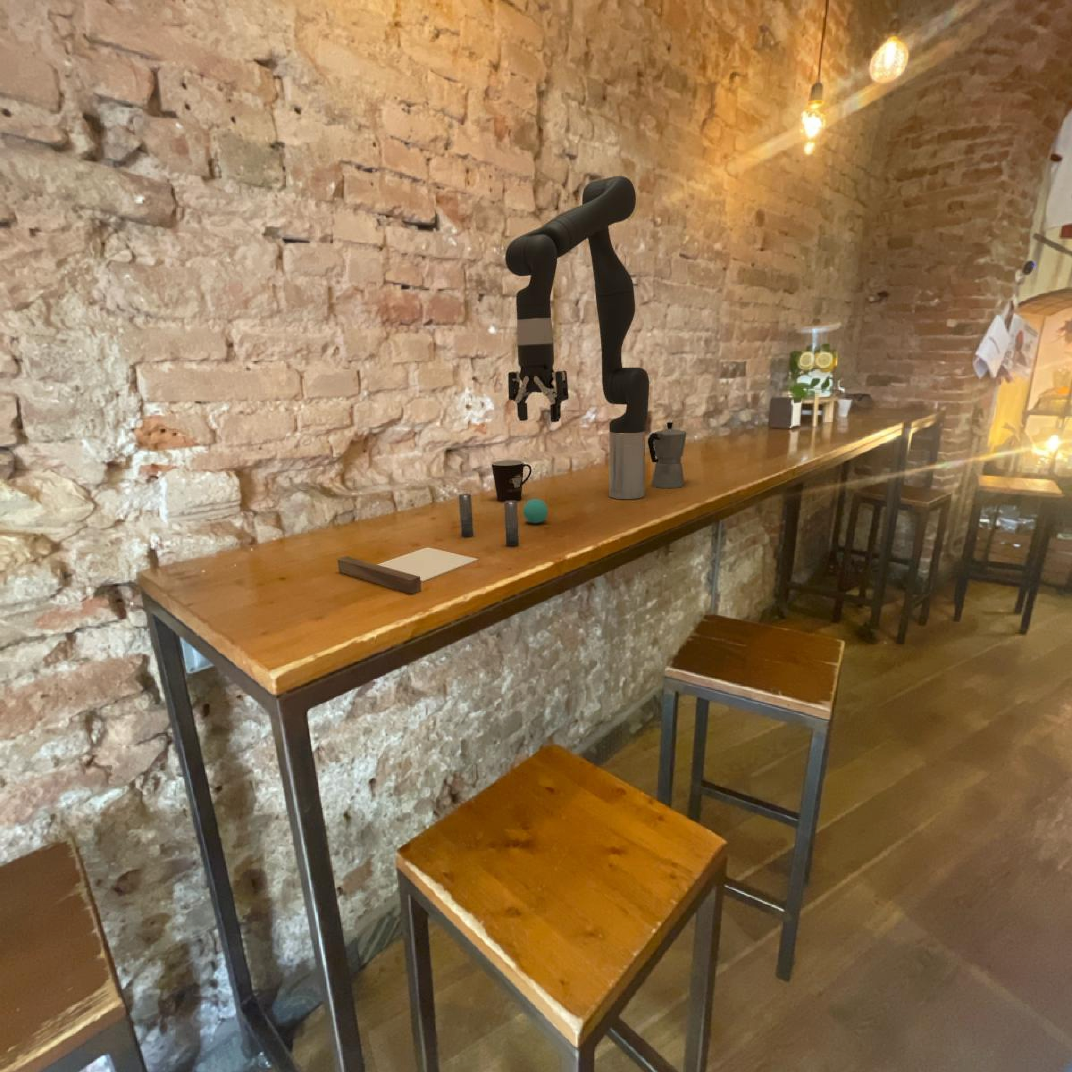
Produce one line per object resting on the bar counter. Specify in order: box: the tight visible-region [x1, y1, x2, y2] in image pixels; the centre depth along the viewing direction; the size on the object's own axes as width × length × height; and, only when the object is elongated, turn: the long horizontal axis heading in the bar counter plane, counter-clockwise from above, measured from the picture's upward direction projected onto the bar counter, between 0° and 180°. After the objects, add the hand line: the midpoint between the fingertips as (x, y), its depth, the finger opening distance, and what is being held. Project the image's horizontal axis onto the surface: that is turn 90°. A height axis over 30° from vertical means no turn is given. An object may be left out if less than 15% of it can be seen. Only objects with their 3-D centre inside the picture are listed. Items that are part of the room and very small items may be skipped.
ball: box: [523, 498, 549, 524], centre depth 140 cm, size 6×6×6 cm
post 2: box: [503, 500, 520, 548], centre depth 124 cm, size 3×3×9 cm
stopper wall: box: [337, 555, 422, 595], centre depth 107 cm, size 2×20×2 cm, turn 52°
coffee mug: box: [491, 459, 533, 503], centre depth 164 cm, size 12×9×10 cm
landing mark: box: [376, 547, 479, 583], centre depth 116 cm, size 14×14×1 cm
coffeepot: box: [647, 421, 688, 490], centre depth 173 cm, size 15×9×18 cm, turn 129°
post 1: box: [458, 493, 474, 538], centre depth 132 cm, size 3×3×9 cm
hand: (539, 421), depth 132 cm, fingers open, 8 cm apart
